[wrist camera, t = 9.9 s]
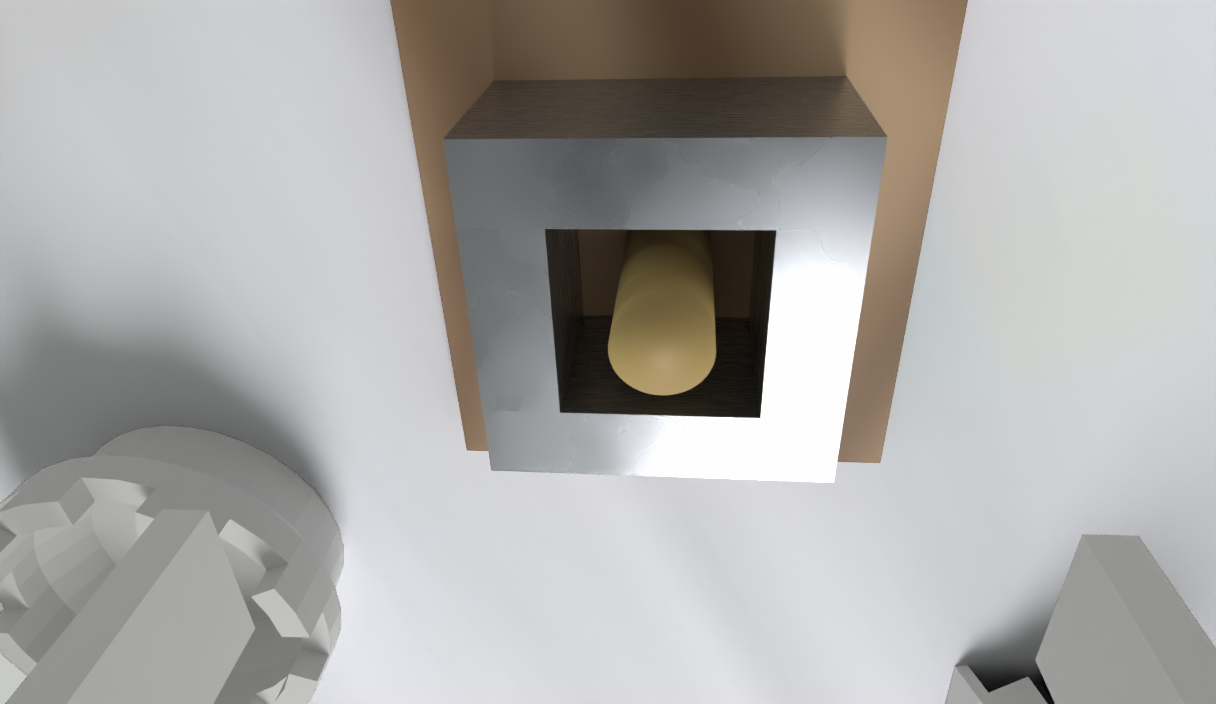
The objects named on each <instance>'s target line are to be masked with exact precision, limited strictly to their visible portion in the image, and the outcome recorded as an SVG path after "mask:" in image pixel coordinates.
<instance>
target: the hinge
mask: <svg viewBox="0 0 1216 704" xmlns="http://www.w3.org/2000/svg"><path fill="white" fill-rule="evenodd" d="M945 704H1055V703H1054V700H1053V698H1052V696H1051V694H1050V692H1049V689H1048V688H1047V690H1046V691H1045V690H1044V688H1043V687H1042V686H1041V684H1038V685H1034V684H1033V683H1032V681H1031V680H1030V678H1029V677H1026V678H1023V679H1021V680H1018V681H1016V682H1013V683H1011V684H1009V685H1006V686H1004V687H1001V688H999V689H996V690H994V691H991V692H988V691H987V690H986V689H985V687H984V686H983V685H982V683H981V682H980V681H979V679H978V678H977V677H976V675H975V674H974V673H973V672H972V670H971V669H970V668H969V666H968V665H962V666H955V668H954V672H953V676H952V680H951V684H950V687H949V691H948V695H947V699H946V703H945Z"/></svg>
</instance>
